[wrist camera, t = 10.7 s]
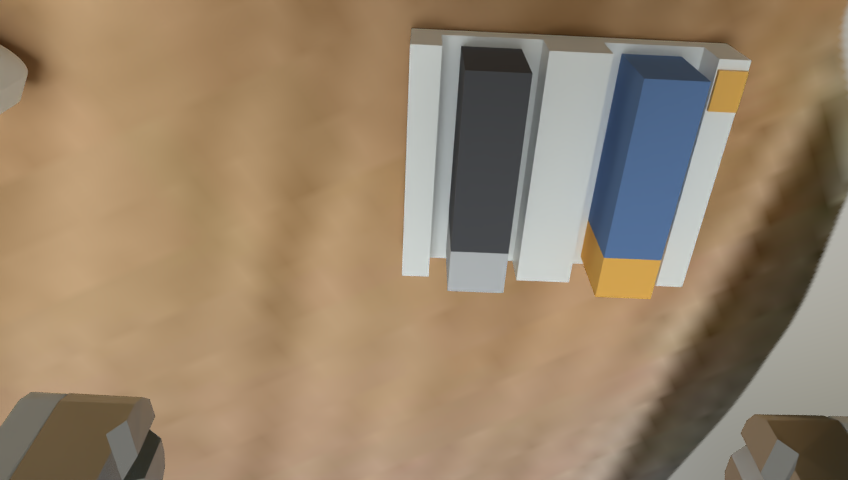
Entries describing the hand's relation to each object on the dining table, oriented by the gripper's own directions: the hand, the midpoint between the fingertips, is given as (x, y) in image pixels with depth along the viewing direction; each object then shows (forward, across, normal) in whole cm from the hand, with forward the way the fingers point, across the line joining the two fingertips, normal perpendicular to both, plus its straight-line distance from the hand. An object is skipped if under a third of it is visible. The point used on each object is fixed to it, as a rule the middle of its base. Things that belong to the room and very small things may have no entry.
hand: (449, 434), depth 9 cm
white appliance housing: (+27, -7, +8) cm, 29 cm away
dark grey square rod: (+26, -3, +8) cm, 28 cm away
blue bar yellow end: (+26, -11, +8) cm, 30 cm away
